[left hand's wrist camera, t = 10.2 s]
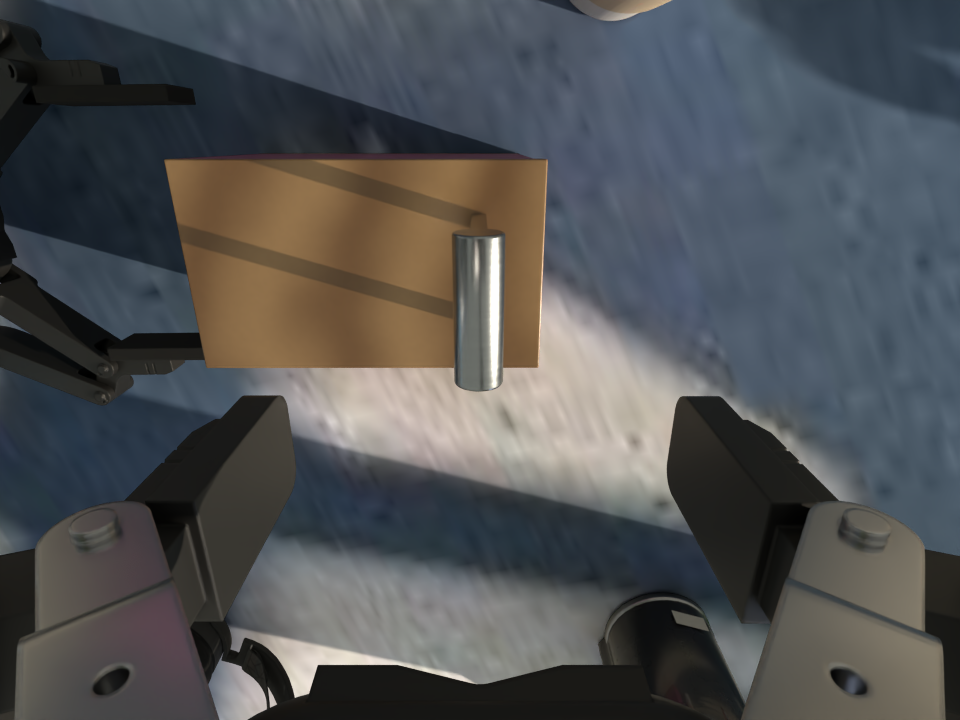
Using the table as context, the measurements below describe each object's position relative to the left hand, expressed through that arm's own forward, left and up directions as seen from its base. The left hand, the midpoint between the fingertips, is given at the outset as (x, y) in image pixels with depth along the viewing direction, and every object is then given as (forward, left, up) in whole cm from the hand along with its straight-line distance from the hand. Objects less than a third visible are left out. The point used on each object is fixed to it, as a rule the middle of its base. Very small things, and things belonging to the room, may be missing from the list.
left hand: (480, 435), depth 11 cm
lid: (-3, +4, -16) cm, 17 cm away
